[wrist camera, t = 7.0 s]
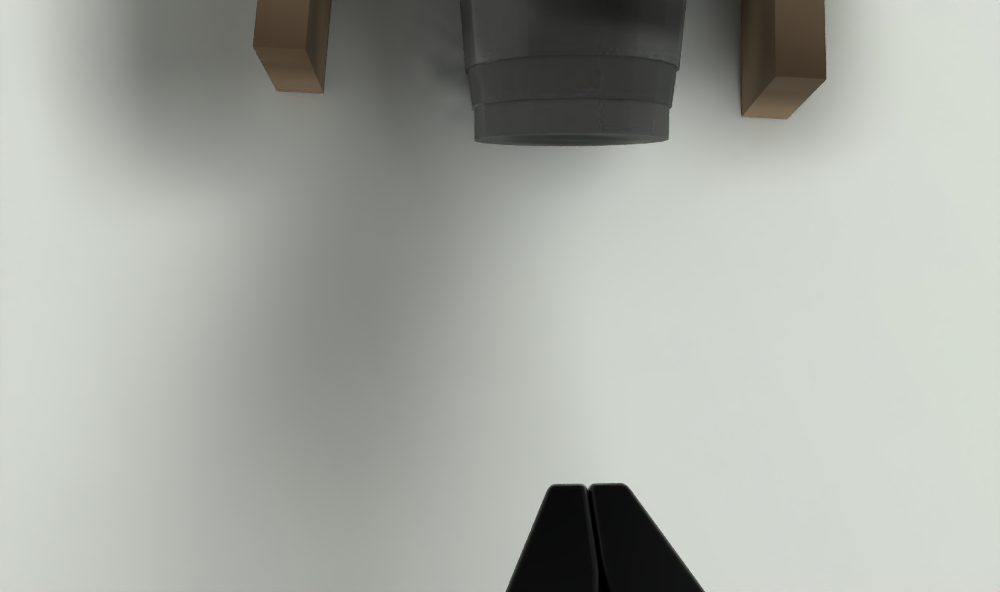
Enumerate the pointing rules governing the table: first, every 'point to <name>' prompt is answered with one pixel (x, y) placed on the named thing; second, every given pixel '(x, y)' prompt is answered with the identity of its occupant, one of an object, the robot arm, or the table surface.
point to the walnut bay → (764, 40)
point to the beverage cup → (572, 70)
